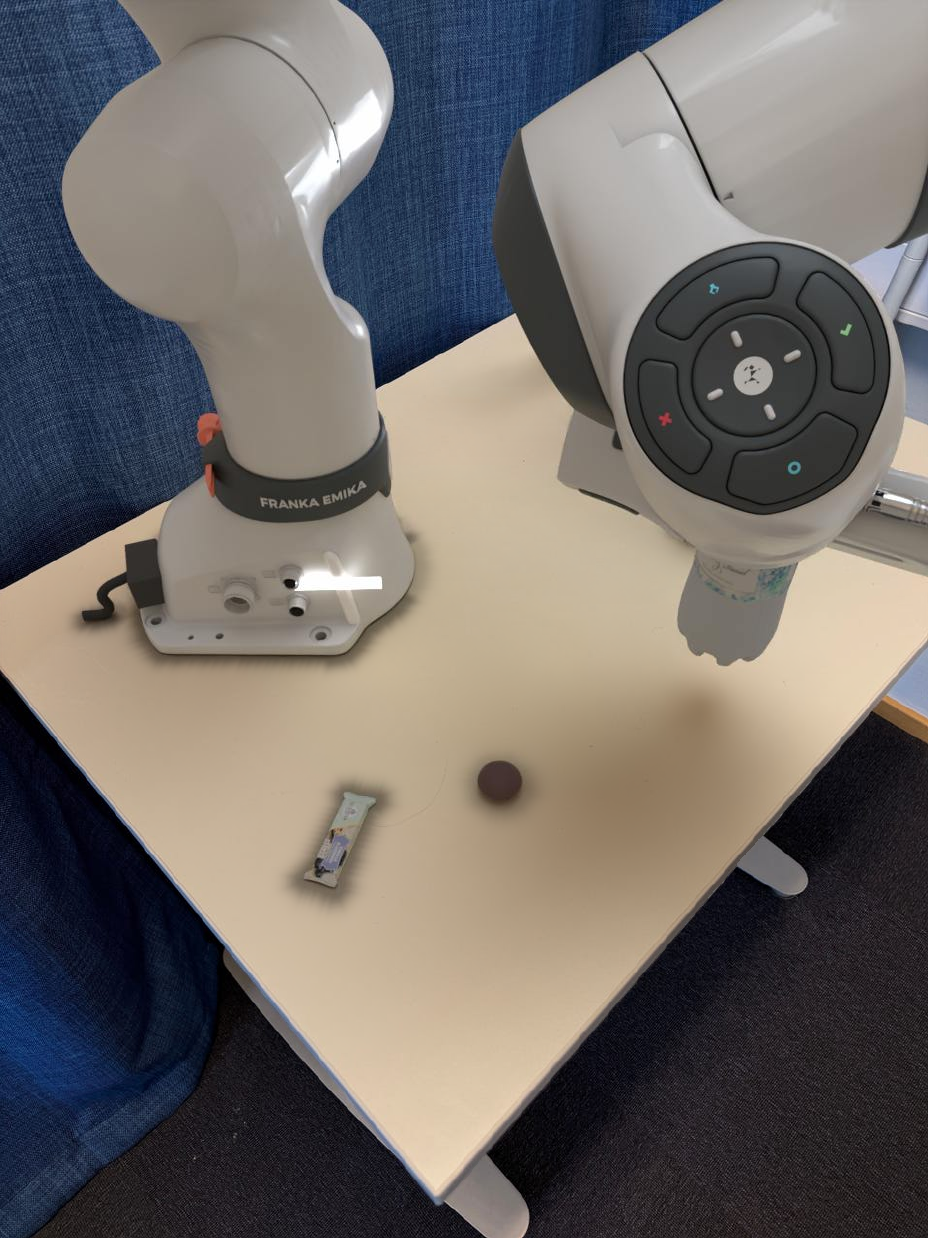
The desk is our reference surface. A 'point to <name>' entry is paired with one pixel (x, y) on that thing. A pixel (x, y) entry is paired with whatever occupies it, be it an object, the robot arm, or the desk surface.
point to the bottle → (731, 608)
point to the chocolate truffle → (499, 780)
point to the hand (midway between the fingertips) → (763, 502)
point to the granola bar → (340, 839)
